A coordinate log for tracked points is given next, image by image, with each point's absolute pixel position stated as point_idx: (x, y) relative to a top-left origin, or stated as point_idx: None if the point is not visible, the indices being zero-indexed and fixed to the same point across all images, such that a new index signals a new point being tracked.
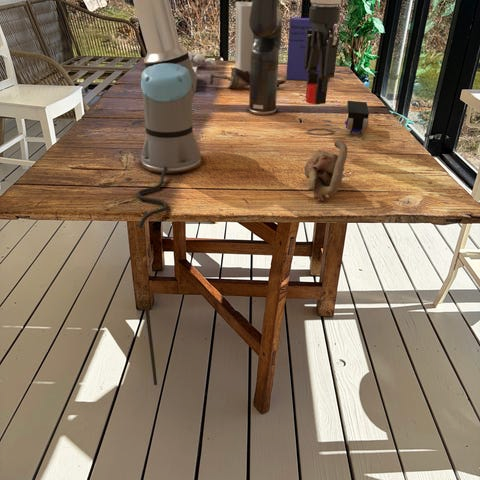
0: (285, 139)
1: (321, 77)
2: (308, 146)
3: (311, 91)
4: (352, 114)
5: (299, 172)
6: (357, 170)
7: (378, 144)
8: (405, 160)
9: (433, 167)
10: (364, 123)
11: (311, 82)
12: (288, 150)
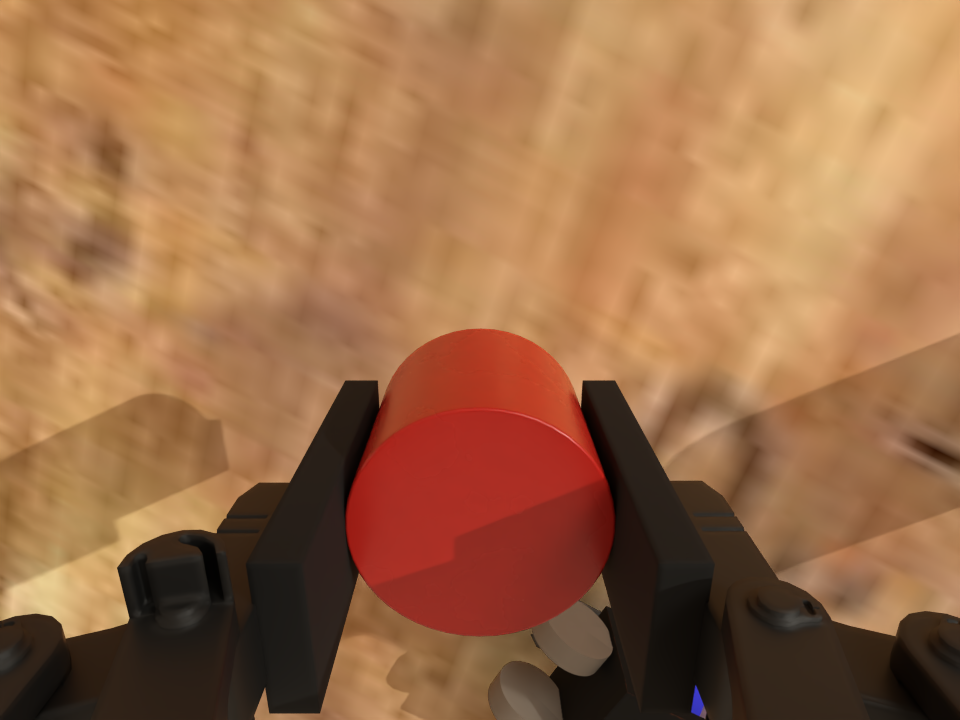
0: (662, 194)
1: (138, 598)
2: (482, 284)
3: (412, 400)
4: (610, 698)
5: (50, 2)
6: (50, 369)
7: (395, 649)
8: None
9: None
10: (503, 695)
11: (619, 525)
12: (453, 115)
